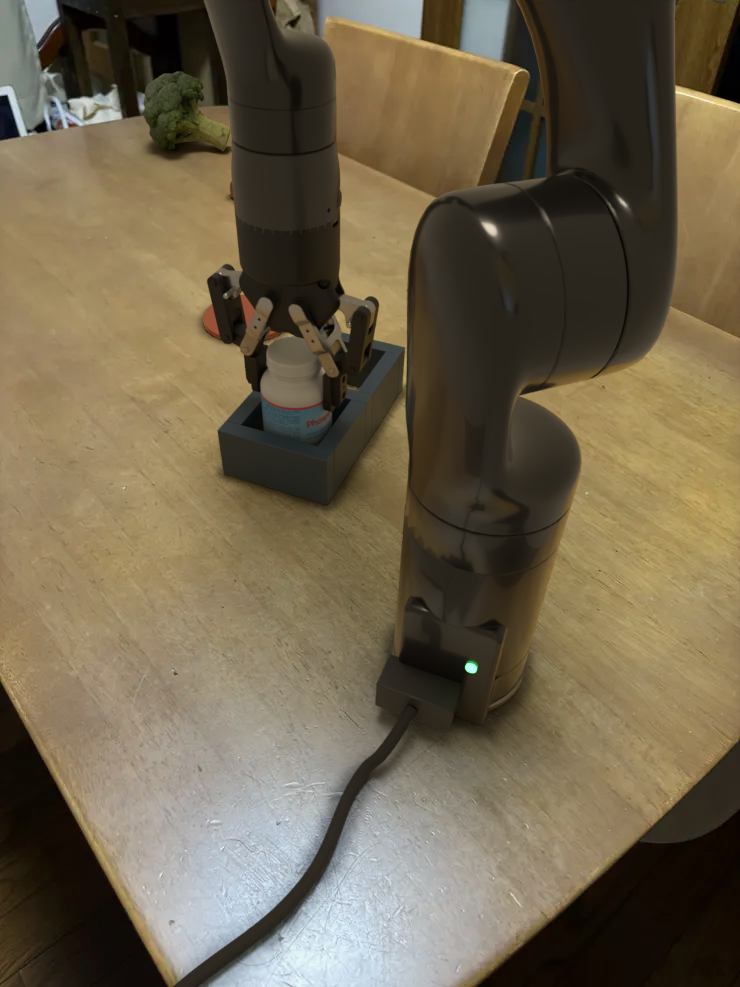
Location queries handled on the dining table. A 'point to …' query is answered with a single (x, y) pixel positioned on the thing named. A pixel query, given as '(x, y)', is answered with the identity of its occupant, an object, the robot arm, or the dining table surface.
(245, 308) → the coaster
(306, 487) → the bottle holder
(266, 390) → the pill bottle
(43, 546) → the dining table surface
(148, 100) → the vegetable
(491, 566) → the robot arm
